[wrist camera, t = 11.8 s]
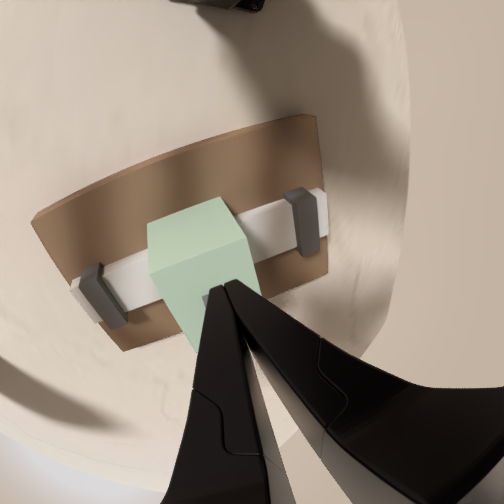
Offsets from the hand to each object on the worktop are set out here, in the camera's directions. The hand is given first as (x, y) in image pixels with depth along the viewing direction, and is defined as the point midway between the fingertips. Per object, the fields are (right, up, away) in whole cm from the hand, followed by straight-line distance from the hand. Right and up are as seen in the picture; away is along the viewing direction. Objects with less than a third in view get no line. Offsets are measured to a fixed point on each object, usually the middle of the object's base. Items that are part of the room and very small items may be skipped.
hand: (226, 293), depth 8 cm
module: (-3, +1, +11) cm, 12 cm away
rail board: (-3, +2, +12) cm, 13 cm away
